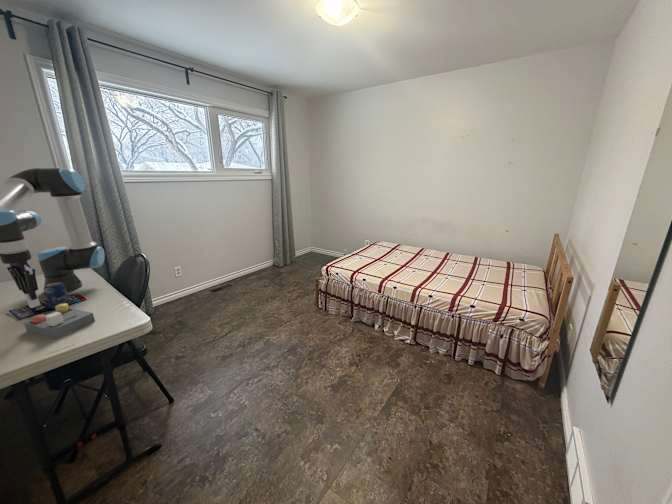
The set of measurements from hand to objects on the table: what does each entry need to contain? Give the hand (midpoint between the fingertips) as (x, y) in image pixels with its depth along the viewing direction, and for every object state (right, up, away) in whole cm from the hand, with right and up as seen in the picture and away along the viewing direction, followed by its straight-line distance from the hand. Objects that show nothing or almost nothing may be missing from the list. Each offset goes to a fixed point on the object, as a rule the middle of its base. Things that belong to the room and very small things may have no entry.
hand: (35, 306), depth 109 cm
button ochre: (+3, -4, +9) cm, 10 cm away
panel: (+6, -9, +5) cm, 12 cm away
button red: (0, -7, +2) cm, 8 cm away
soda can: (-11, -5, +21) cm, 25 cm away
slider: (+10, -7, -1) cm, 12 cm away
